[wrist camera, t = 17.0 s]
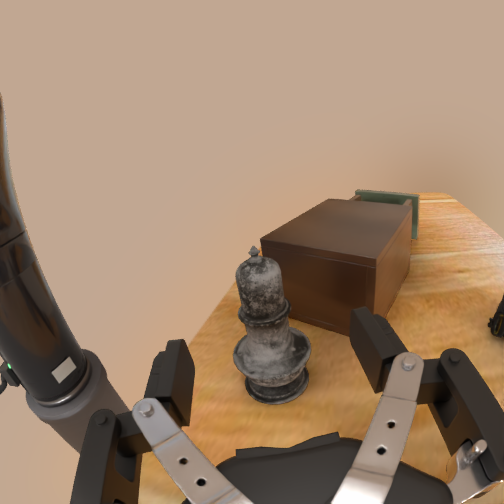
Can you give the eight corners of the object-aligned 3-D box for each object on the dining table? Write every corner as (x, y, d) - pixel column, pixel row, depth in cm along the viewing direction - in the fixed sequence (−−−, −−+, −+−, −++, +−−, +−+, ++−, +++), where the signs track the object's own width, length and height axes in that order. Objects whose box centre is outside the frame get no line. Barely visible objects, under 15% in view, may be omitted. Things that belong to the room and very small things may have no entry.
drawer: (368, 220, 49) (366, 183, 46) (422, 227, 42) (423, 187, 39) (322, 263, 37) (318, 214, 34) (397, 278, 30) (400, 223, 28)
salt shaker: (229, 375, 23) (191, 249, 18) (284, 346, 26) (266, 222, 21) (266, 419, 18) (232, 282, 14) (327, 380, 21) (323, 242, 16)
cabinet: (332, 256, 41) (328, 198, 37) (409, 270, 33) (412, 206, 30) (271, 311, 31) (259, 238, 28) (370, 342, 24) (376, 258, 20)
